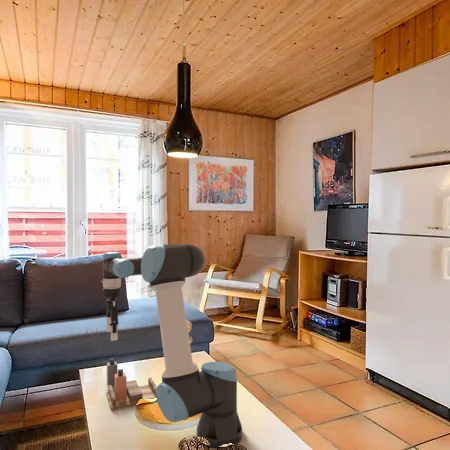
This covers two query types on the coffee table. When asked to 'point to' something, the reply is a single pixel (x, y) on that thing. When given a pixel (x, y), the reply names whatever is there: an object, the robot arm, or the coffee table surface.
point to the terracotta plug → (120, 385)
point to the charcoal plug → (111, 372)
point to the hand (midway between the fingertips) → (111, 335)
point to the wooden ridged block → (132, 394)
